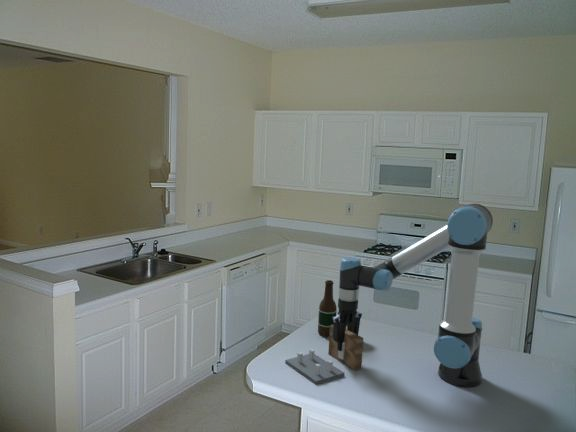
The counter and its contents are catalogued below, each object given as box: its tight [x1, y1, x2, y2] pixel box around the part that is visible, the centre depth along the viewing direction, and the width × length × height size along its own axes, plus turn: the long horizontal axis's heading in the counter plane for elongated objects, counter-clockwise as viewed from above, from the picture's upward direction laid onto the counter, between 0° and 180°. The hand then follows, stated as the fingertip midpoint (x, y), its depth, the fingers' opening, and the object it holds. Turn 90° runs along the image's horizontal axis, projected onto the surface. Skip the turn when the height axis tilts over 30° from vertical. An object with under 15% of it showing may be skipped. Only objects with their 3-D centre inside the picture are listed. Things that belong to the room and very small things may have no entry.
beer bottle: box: [317, 279, 338, 338], centre depth 214 cm, size 8×8×24 cm
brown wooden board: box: [328, 325, 364, 371], centre depth 188 cm, size 16×4×12 cm, turn 34°
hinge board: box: [285, 348, 345, 385], centre depth 181 cm, size 19×13×5 cm
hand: (344, 357), depth 189 cm, fingers closed on brown wooden board, 3 cm apart
